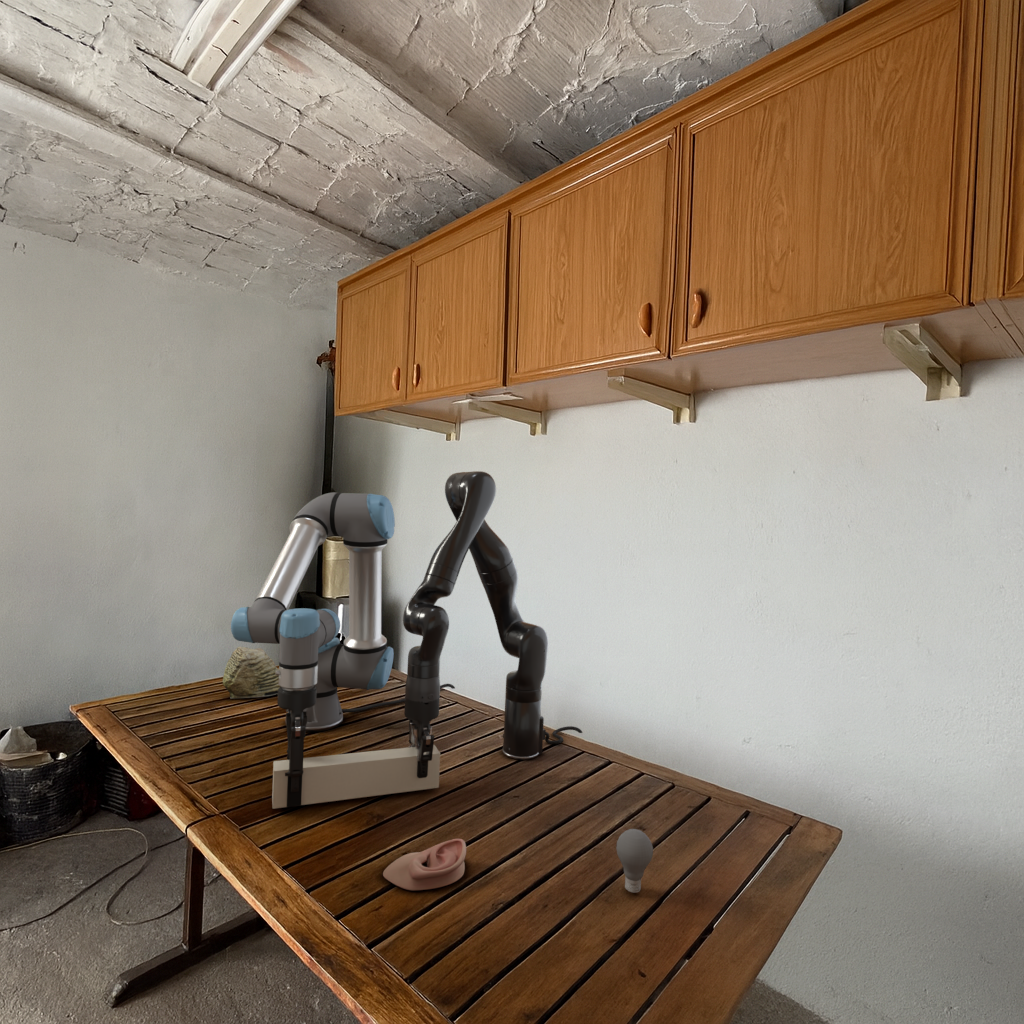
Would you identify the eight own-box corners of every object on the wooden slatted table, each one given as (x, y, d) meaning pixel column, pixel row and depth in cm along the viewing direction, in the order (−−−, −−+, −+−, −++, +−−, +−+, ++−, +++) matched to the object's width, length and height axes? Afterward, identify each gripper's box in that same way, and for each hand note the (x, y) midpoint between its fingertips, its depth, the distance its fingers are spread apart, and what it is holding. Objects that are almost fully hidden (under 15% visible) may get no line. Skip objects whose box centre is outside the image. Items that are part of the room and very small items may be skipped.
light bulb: (610, 879, 108) (613, 822, 108) (644, 879, 109) (647, 822, 109) (619, 902, 102) (622, 840, 102) (655, 901, 103) (658, 840, 103)
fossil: (218, 695, 195) (220, 647, 195) (278, 685, 208) (279, 640, 207) (228, 703, 189) (230, 653, 188) (289, 692, 201) (290, 645, 201)
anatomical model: (376, 860, 104) (402, 826, 115) (375, 884, 104) (401, 847, 115) (453, 873, 101) (472, 837, 113) (452, 898, 101) (471, 859, 113)
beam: (272, 809, 126) (273, 771, 125) (272, 797, 130) (273, 761, 130) (438, 787, 138) (440, 753, 138) (433, 778, 143) (434, 744, 143)
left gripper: (277, 674, 136) (273, 782, 136) (278, 700, 119) (274, 823, 120) (313, 672, 139) (309, 778, 139) (320, 698, 122) (315, 817, 122)
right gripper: (398, 686, 144) (395, 760, 144) (412, 706, 131) (409, 788, 131) (431, 684, 147) (428, 757, 147) (447, 703, 133) (444, 783, 134)
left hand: (293, 798), depth 129 cm, fingers closed on beam, 5 cm apart
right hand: (419, 771), depth 139 cm, fingers closed on beam, 5 cm apart
